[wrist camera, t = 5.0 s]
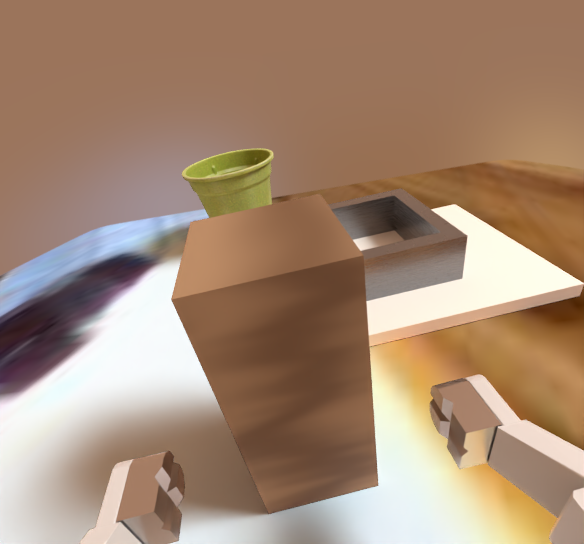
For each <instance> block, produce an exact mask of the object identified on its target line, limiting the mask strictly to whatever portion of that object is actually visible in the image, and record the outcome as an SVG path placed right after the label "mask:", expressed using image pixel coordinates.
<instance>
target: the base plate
mask: <svg viewBox="0 0 584 544" xmlns="http://www.w3.org/2000/svg"><path fill="white" fill-rule="evenodd" d="M432 211H434V212H435V213H436V214H438V215H439V216H441V217H442V218H443V219H445V220H446V221H448V222H449V223H450V224H452V225H453V226H455V227H456V228H457V229H459V230H460V231H462V232H463V233H464V234H466V235H467V236H468V237H467V245H466V253H465V262H464V270H463V278H462V279H458V280H454V281H450V282H446V283H442V284H437V285H433V286H429V287H425V288H420V289H416V290H412V291H408V292H403V293H399V294H395V295H391V296H386V297H382V298H378V299H374V300H370V301H366V302H367V317H368V333H369V347H370V346H374V345H379V344H383V343H387V342H391V341H395V340H399V339H403V338H408V337H412V336H416V335H420V334H424V333H428V332H432V331H436V330H441V329H445V328H449V327H453V326H457V325H461V324H465V323H469V322H474V321H478V320H482V319H486V318H490V317H494V316H498V315H502V314H507V313H511V312H515V311H519V310H523V309H527V308H531V307H536V306H540V305H544V304H548V303H552V302H556V301H560V300H564V299H569V298H573V297H577V296H580V294H581V291H582V288H583V285H584V283H582V282H581V281H579V280H577V279H576V278H574V277H572V276H571V275H569V274H568V273H566V272H564V271H563V270H561V269H559V268H558V267H556V266H555V265H553V264H551V263H550V262H548V261H546V260H545V259H543V258H542V257H540V256H538V255H537V254H535V253H533V252H532V251H530V250H529V249H527V248H525V247H524V246H522V245H520V244H519V243H517V242H515V241H514V240H512V239H511V238H509V237H507V236H506V235H504V234H502V233H501V232H499V231H498V230H496V229H494V228H493V227H491V226H489V225H488V224H486V223H485V222H483V221H481V220H480V219H478V218H476V217H475V216H473V215H472V214H470V213H468V212H467V211H465V210H463V209H462V208H460V207H458V206H457V205H455V204H454V205H449V206H445V207H441V208H436V209H432ZM353 241H354V243H355V244H356V245H357V247H358V248H359V250H360V251H362V250H366V249H370V248H375V247H379V246H383V245H388V244H392V243H397V242H401V241H405V240H404V239H403V238H402V237H401V236H400V235H399V234H398V233H397V232H396V231H395V230H394V231H389V232H385V233H380V234H376V235H372V236H367V237H363V238H358V239H354V240H353Z"/></svg>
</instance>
